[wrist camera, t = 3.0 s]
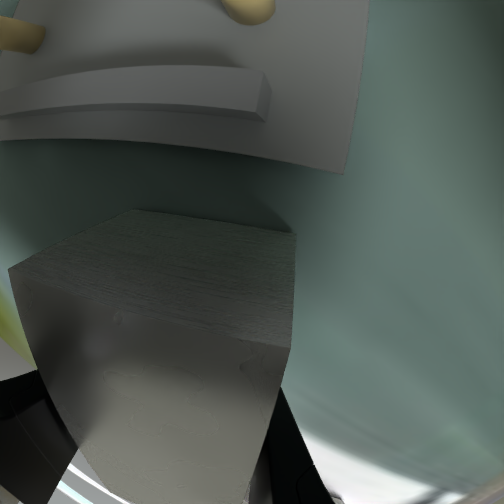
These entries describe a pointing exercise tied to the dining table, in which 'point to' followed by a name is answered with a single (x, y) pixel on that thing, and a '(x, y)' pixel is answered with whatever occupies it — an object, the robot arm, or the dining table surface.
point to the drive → (163, 348)
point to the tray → (187, 74)
